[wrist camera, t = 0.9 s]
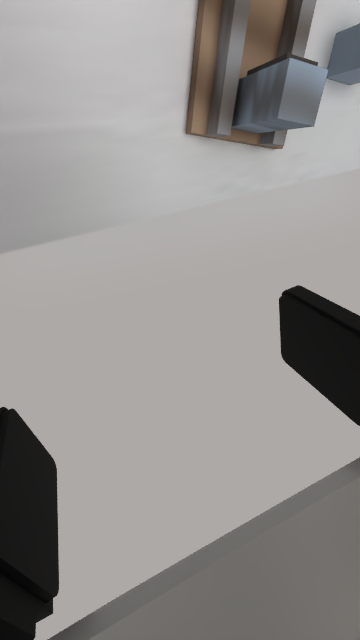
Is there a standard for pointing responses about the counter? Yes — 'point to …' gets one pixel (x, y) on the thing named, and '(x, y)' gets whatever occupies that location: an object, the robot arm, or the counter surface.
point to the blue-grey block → (346, 57)
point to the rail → (253, 71)
